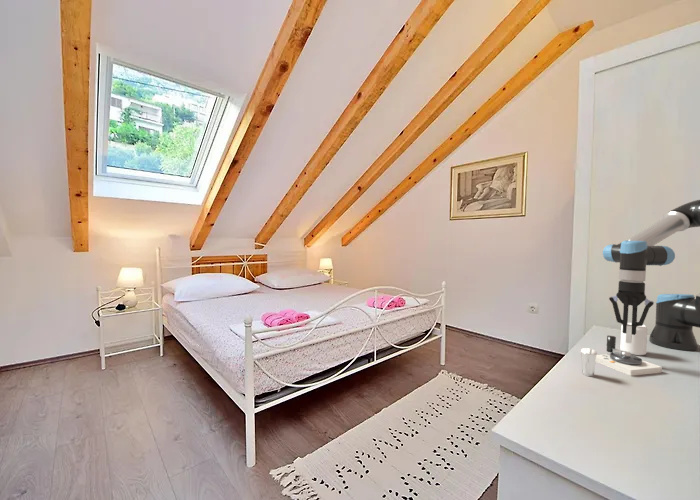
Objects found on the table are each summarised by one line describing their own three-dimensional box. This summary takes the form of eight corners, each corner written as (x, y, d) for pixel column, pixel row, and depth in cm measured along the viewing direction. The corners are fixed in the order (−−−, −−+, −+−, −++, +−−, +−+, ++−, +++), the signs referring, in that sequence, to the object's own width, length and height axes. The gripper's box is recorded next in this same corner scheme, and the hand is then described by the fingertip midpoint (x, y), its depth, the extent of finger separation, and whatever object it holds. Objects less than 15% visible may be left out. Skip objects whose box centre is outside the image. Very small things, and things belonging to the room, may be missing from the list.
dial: (648, 363, 115) (649, 344, 115) (628, 365, 113) (629, 346, 113) (616, 352, 126) (617, 334, 126) (598, 354, 124) (598, 336, 124)
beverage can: (635, 349, 136) (637, 321, 136) (651, 356, 128) (653, 327, 127) (615, 348, 137) (616, 321, 136) (629, 355, 129) (631, 326, 128)
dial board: (620, 357, 127) (620, 352, 127) (661, 372, 113) (661, 366, 113) (592, 360, 124) (592, 354, 124) (630, 375, 110) (630, 369, 110)
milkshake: (581, 376, 109) (582, 348, 109) (578, 370, 114) (579, 343, 114) (598, 379, 107) (599, 350, 107) (594, 373, 112) (595, 345, 111)
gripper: (655, 282, 118) (652, 344, 119) (611, 278, 128) (608, 336, 129) (655, 284, 113) (651, 349, 114) (608, 280, 122) (605, 340, 124)
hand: (628, 342), depth 121 cm, fingers closed
